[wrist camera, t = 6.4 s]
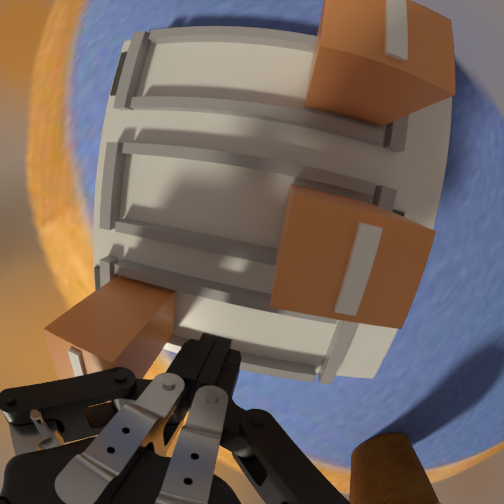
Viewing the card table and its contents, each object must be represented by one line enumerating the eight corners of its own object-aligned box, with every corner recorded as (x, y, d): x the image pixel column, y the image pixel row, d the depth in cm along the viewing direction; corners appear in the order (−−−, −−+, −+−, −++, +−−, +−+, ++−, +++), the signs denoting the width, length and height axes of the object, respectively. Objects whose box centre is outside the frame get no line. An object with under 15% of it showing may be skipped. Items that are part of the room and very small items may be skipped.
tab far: (175, 290, 15) (110, 365, 9) (173, 332, 16) (120, 412, 9) (118, 275, 16) (40, 330, 9) (120, 315, 17) (55, 378, 10)
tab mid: (367, 202, 13) (439, 233, 6) (353, 258, 14) (403, 332, 7) (290, 183, 13) (294, 195, 6) (278, 242, 14) (269, 310, 7)
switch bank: (440, 97, 12) (460, 89, 9) (368, 365, 17) (376, 388, 15) (135, 48, 13) (116, 35, 11) (107, 306, 19) (90, 322, 16)
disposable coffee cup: (318, 453, 21) (318, 554, 10) (403, 409, 18) (436, 518, 7) (361, 475, 22) (369, 554, 11) (431, 439, 20) (457, 519, 8)
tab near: (386, 76, 11) (453, 17, 4) (381, 126, 12) (458, 93, 5) (312, 56, 11) (329, -29, 4) (304, 106, 12) (320, 42, 5)
